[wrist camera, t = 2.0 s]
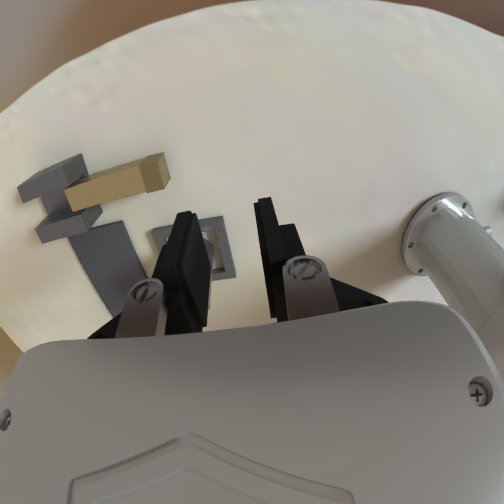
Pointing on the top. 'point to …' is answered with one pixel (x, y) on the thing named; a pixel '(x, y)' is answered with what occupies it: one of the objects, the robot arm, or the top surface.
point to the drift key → (119, 182)
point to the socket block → (59, 200)
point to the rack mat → (109, 262)
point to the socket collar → (219, 227)
